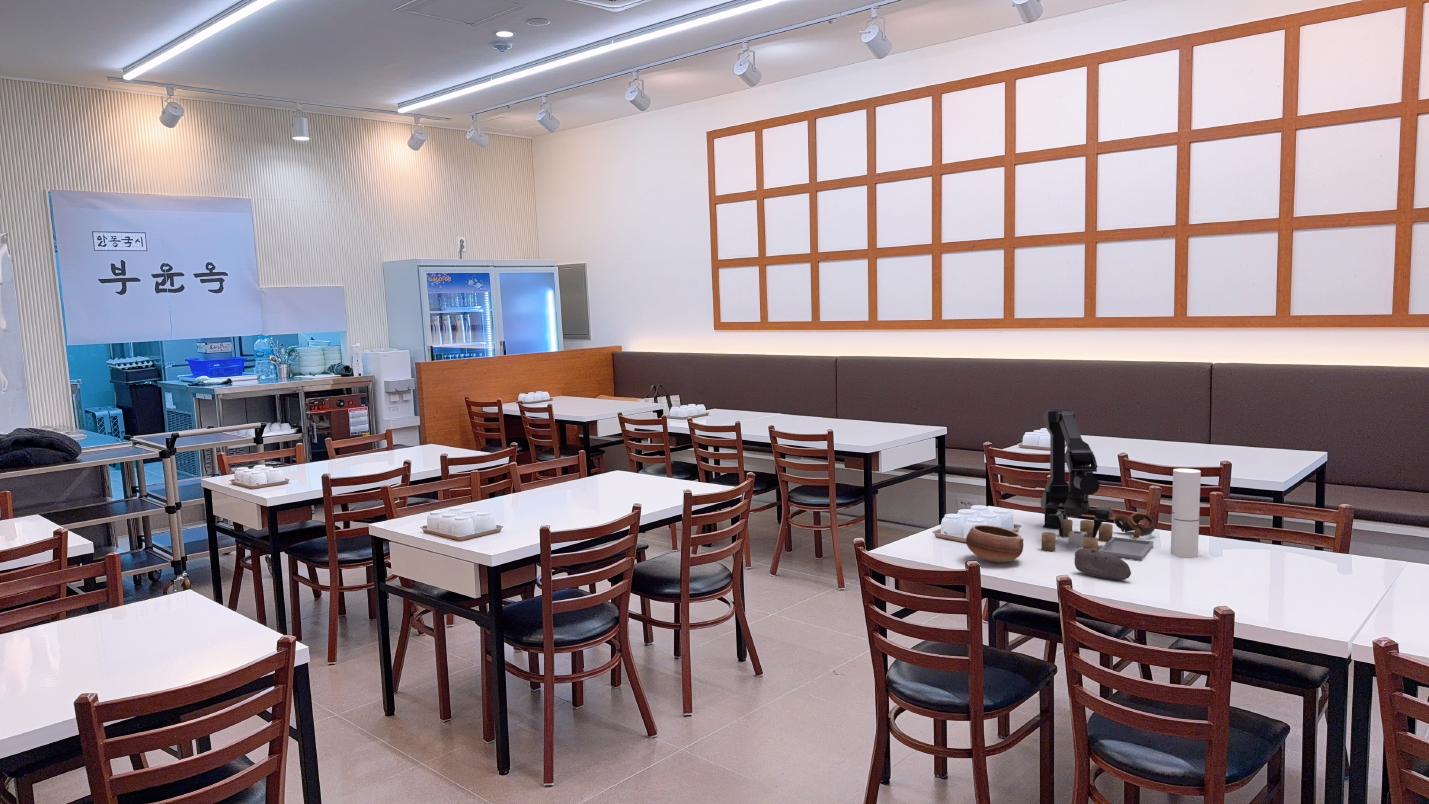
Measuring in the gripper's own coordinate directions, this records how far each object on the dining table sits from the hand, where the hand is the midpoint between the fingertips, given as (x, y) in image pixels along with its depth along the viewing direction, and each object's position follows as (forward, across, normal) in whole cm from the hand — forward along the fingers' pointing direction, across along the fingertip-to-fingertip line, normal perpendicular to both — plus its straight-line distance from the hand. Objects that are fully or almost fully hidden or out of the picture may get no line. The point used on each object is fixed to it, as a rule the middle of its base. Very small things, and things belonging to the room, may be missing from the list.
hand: (1077, 538), depth 285 cm
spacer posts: (+2, 0, 0) cm, 2 cm away
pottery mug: (+2, +12, +22) cm, 25 cm away
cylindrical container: (+2, +29, +4) cm, 29 cm away
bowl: (+2, -16, -31) cm, 35 cm away
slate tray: (+2, +14, 0) cm, 14 cm away
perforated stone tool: (+2, +14, -32) cm, 35 cm away
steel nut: (+2, 0, 0) cm, 2 cm away
